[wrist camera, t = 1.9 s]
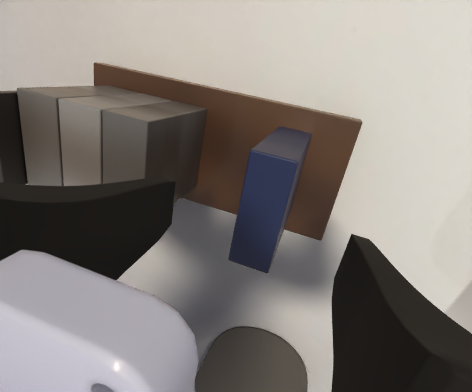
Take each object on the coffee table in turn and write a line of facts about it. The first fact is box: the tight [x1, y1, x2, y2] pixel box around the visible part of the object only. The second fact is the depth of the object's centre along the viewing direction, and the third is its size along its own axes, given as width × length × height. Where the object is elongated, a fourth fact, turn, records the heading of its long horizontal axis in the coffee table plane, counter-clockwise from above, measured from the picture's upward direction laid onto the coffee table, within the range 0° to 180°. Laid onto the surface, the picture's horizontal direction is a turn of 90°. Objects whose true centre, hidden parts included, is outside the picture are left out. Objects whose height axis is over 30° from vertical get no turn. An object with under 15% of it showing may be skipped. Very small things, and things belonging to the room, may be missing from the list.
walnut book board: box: [0, 63, 362, 240], centre depth 17 cm, size 8×18×9 cm, turn 79°
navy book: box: [228, 126, 312, 273], centre depth 16 cm, size 6×2×7 cm, turn 169°
